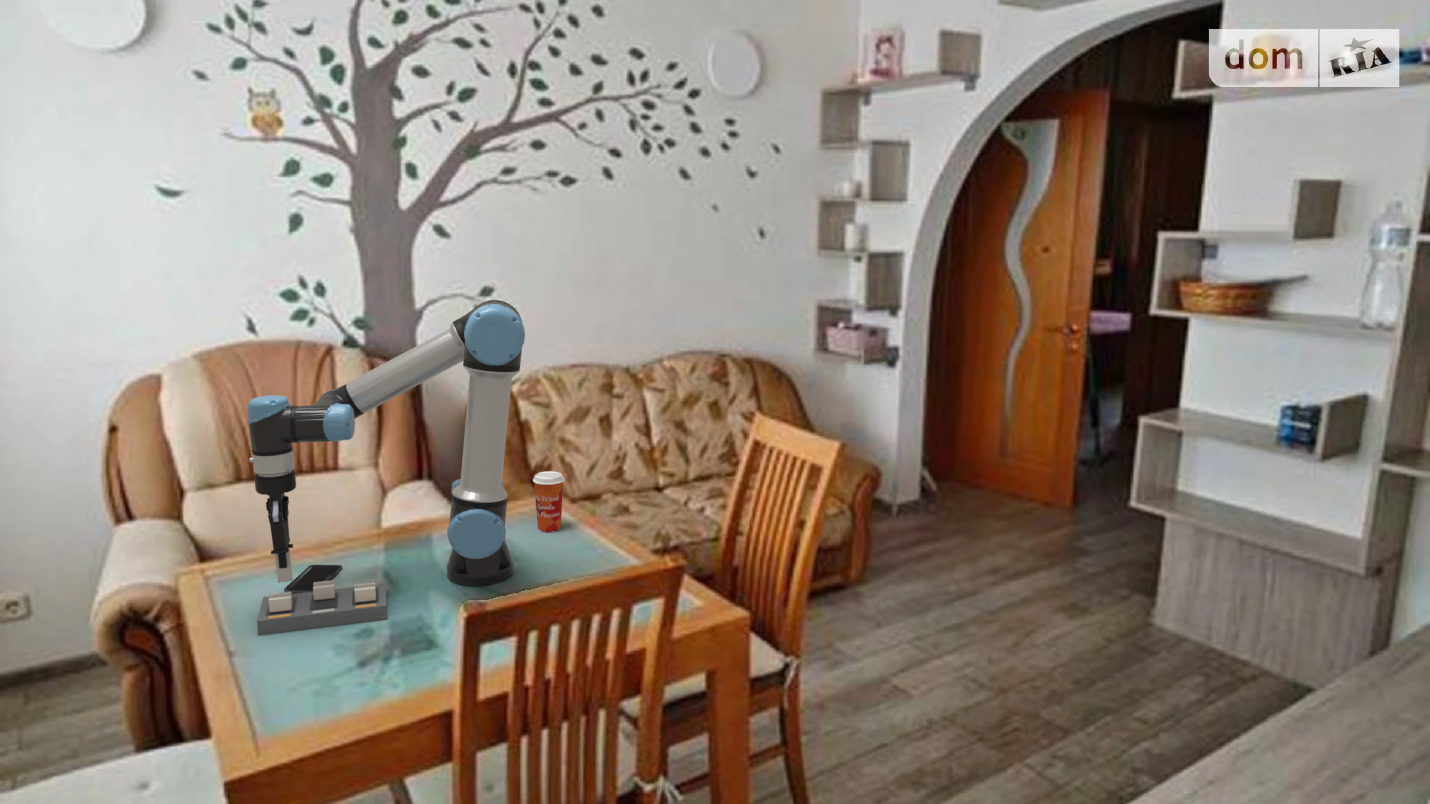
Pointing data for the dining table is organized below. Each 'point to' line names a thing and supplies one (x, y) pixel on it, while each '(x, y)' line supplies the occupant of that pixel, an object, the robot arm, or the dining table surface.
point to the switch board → (322, 611)
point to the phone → (312, 577)
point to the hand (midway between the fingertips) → (285, 580)
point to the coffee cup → (548, 500)
